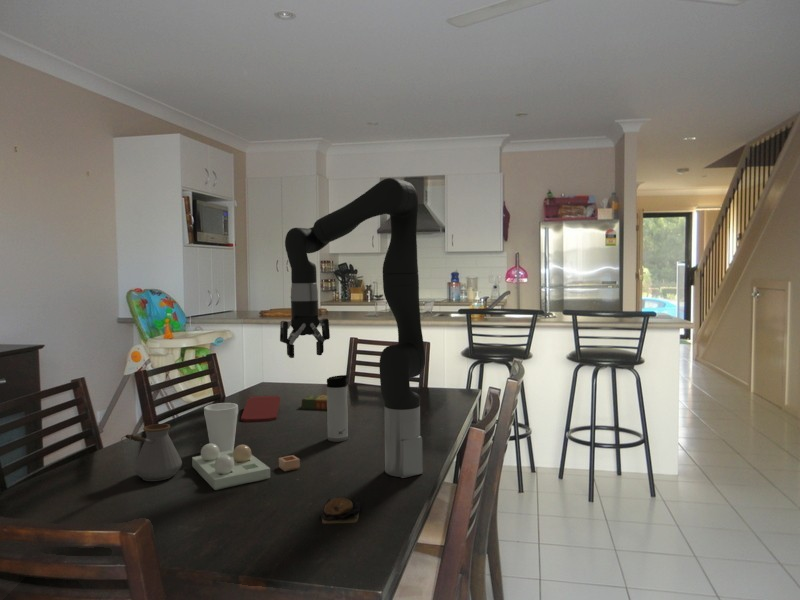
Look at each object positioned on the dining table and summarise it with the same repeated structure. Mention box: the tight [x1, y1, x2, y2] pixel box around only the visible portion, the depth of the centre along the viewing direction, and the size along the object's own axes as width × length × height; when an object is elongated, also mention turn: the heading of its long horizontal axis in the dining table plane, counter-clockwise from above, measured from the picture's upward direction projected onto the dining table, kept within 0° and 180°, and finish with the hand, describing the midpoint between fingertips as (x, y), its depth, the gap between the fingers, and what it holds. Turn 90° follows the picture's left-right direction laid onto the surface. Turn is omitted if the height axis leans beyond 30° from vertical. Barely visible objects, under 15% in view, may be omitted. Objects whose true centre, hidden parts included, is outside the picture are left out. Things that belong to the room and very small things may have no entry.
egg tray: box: [191, 449, 271, 491], centre depth 153 cm, size 21×14×2 cm, turn 34°
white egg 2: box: [214, 455, 234, 475], centre depth 146 cm, size 5×5×5 cm
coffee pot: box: [120, 423, 183, 482], centre depth 146 cm, size 21×12×15 cm, turn 177°
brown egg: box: [233, 444, 252, 463], centre depth 155 cm, size 5×5×5 cm
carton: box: [301, 394, 349, 410], centre depth 226 cm, size 8×16×4 cm, turn 78°
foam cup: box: [203, 402, 239, 452], centre depth 172 cm, size 10×9×13 cm
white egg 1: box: [200, 442, 220, 461], centre depth 157 cm, size 5×5×5 cm
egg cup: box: [278, 454, 301, 472], centre depth 156 cm, size 4×4×2 cm
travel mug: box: [326, 374, 349, 443], centre depth 182 cm, size 6×7×20 cm
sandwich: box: [319, 497, 362, 525], centre depth 127 cm, size 11×8×4 cm
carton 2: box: [240, 395, 281, 423], centre depth 218 cm, size 12×5×25 cm
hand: (305, 356), depth 166 cm, fingers open, 8 cm apart
